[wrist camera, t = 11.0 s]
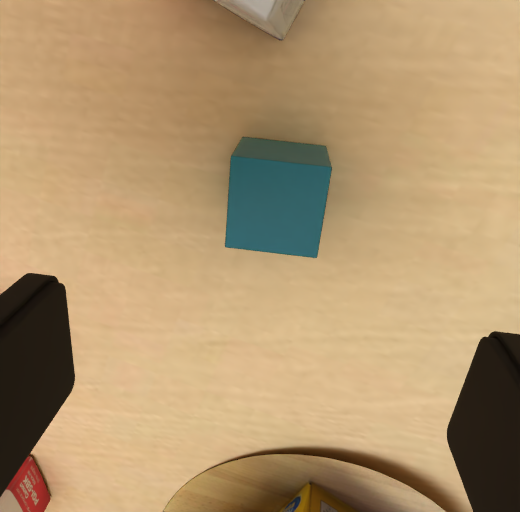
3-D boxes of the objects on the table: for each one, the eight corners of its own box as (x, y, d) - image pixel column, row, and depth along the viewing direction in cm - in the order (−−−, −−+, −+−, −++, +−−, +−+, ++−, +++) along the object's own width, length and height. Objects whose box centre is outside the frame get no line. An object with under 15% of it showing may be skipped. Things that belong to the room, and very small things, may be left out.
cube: (242, 136, 21) (230, 155, 18) (326, 145, 21) (332, 167, 17) (236, 215, 23) (224, 247, 19) (314, 224, 23) (316, 258, 19)
